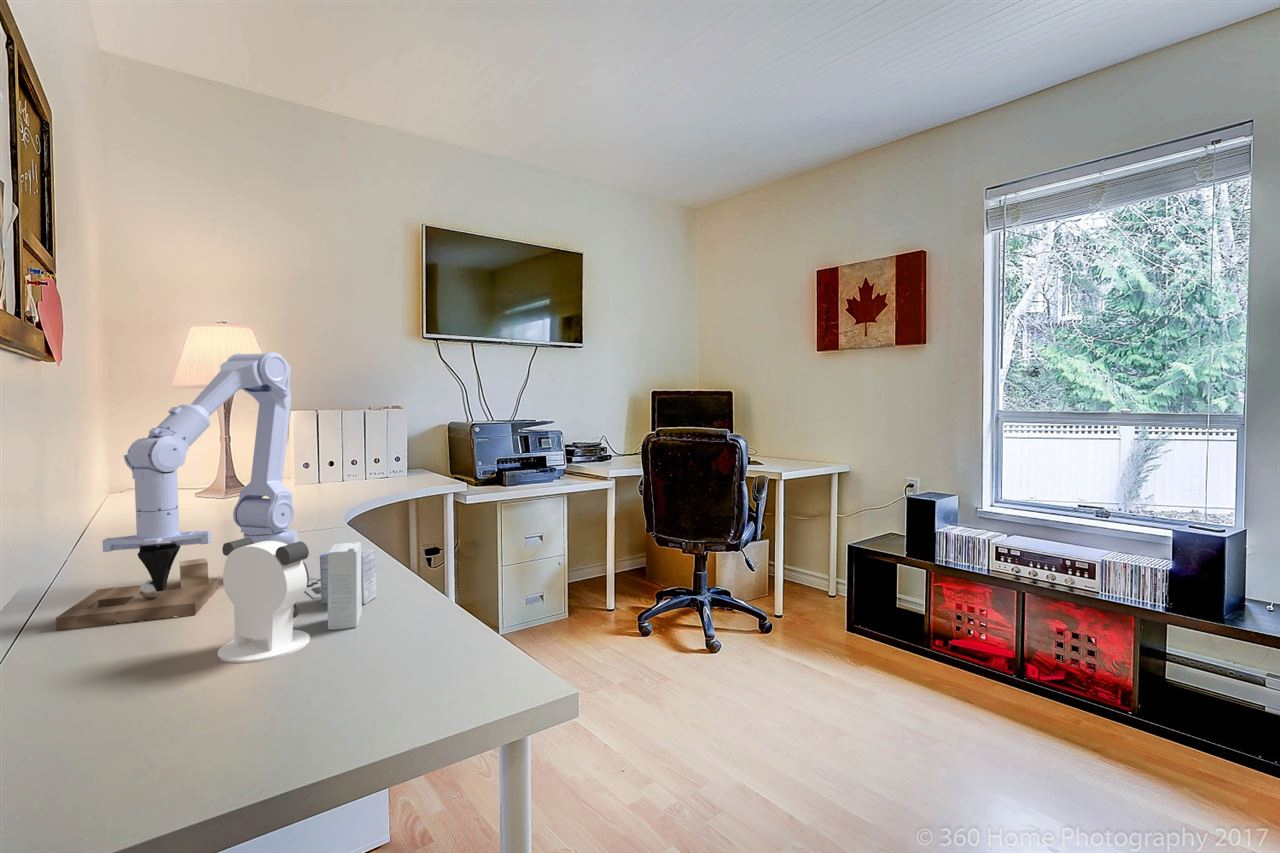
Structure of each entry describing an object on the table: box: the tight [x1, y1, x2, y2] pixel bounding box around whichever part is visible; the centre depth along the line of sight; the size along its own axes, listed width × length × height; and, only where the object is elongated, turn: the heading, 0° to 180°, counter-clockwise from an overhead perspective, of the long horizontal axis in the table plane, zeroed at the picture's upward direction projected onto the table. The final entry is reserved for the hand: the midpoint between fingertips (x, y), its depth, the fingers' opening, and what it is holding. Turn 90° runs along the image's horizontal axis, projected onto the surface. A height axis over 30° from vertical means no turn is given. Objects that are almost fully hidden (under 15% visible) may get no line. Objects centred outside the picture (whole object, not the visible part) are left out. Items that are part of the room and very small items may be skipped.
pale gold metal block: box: [179, 557, 209, 589], centre depth 116 cm, size 4×4×4 cm
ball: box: [140, 579, 163, 599], centre depth 108 cm, size 3×3×3 cm
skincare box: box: [327, 541, 363, 631], centre depth 101 cm, size 6×4×12 cm
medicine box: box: [319, 548, 378, 605], centre depth 112 cm, size 8×4×9 cm, turn 84°
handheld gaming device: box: [304, 575, 321, 600], centre depth 122 cm, size 9×1×15 cm
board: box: [55, 577, 219, 632], centre depth 109 cm, size 18×16×2 cm
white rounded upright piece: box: [217, 537, 311, 664], centre depth 91 cm, size 12×11×15 cm
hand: (160, 589), depth 108 cm, fingers closed, pressing on ball
